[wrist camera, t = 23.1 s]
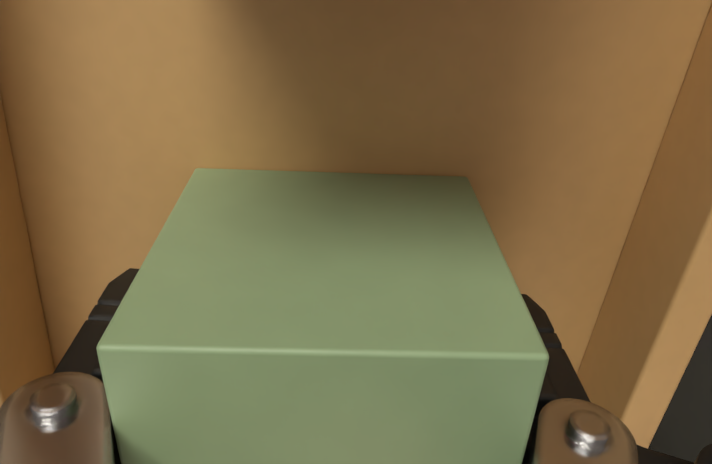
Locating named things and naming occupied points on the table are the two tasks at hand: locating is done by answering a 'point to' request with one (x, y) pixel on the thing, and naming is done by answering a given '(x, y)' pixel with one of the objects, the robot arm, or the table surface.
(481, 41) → the tray
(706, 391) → the table surface
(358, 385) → the green block
